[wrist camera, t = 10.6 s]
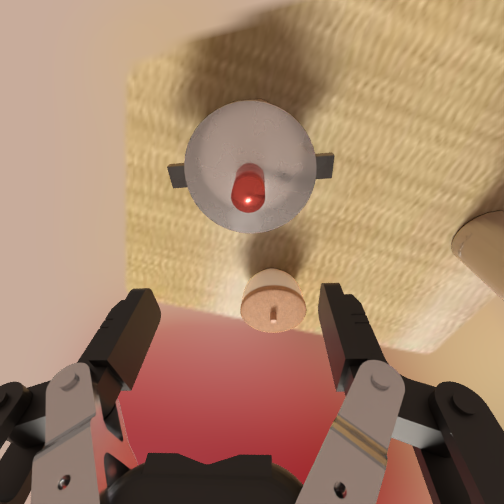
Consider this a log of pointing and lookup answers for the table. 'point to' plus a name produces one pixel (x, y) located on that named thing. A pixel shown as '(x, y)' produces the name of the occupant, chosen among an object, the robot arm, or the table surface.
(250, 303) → the lidded jar
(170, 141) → the table surface
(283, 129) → the lid
